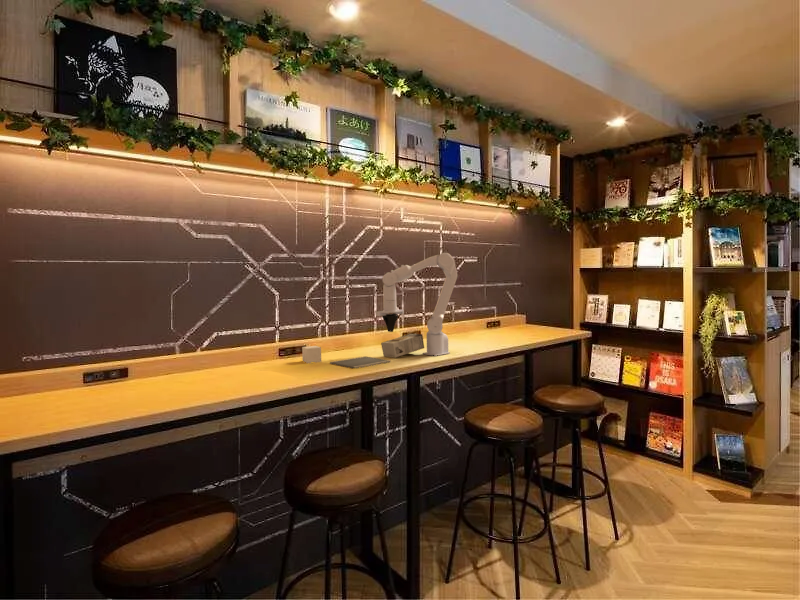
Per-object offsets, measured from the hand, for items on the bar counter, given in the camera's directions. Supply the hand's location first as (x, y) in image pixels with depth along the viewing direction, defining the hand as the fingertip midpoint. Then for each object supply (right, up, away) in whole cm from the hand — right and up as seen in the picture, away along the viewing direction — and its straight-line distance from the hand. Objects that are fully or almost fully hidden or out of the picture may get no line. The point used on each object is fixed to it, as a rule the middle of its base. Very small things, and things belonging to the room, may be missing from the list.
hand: (390, 331), depth 200 cm
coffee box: (-1, -7, -7) cm, 10 cm away
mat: (-12, -11, -18) cm, 24 cm away
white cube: (-32, -12, -12) cm, 36 cm away
